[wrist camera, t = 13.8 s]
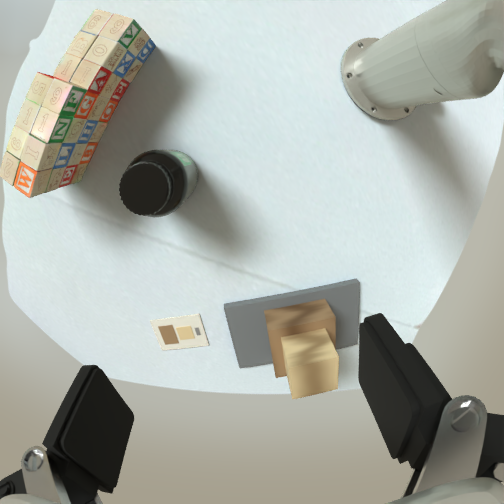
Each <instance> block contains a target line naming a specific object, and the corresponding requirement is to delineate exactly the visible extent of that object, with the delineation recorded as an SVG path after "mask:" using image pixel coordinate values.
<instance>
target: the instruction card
mask: <svg viewBox="0 0 504 504" xmlns="http://www.w3.org/2000/svg"><path fill="white" fill-rule="evenodd" d="M150 322H151V325H152V327H153V330H154V332H155V335H156V337H157V340H158V342H159V344H160V347H161V349H162V350H172V349H182V348H191V347H199V346H207V345H209V343H208V340H207V337H206V334H205V331H204V328H203V324H202V321H201V318H200V315H199V314H193V315H186V316H179V317H171V318H163V319H155V320H150Z"/></svg>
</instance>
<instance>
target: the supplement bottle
mask: <svg viewBox="0 0 504 504" xmlns="http://www.w3.org/2000/svg"><path fill="white" fill-rule="evenodd" d="M197 180H198V173H197V168H196V165H195V163H194V162H193V160H192V159H191V158H190V157H189V156H188V155H187V154H185V153H183V152H181V151H177V150H151V151H147V152H144V153H142V154H140V155H139V156H137V157H136V158H135V159H134V160H133V161H132V162H131V163H130V165H129V166H128V168H127V170H126V171H125V173H124V174H123V177H122V178H121V182H120V184H119V185H120V188H119V191H120V196H121V200H122V201H123V204H124V205H125V206H126V208H128V209H129V210H130V211H131V212H133V213H135V214H138V215H144V216H148V217H162V216H166V215H168V214H170V213H172V212H174V211H175V210H176V209H177V208H179V207H180V206H181V204H182V203H183V202H184V201H185V200H186V199H187V198H188V197H189V196H190V195H191V194H192V192H193V191H194V189H195V187H196V184H197Z"/></svg>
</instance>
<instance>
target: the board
mask: <svg viewBox="0 0 504 504" xmlns="http://www.w3.org/2000/svg"><path fill="white" fill-rule="evenodd" d="M321 299H325V300H326V301H327V303H328V305H329V307H330V308H331V310H332V312H333V313H334V315H335V318H336V349H340V348H344V347H348V346H352V345H356V344H357V339H358V319H359V281H358V280H357V279H352V280H348V281H343V282H339V283H334V284H329V285H324V286H319V287H314V288H309V289H304V290H299V291H294V292H289V293H284V294H278V295H273V296H267V297H262V298H256V299H250V300H244V301H238V302H232V303H226V304H224V310H225V314H226V318H227V322H228V326H229V330H230V334H231V338H232V341H233V345H234V349H235V353H236V356H237V360H238V364H239V367H240V368H245V367H252V366H258V365H264V364H270V363H273V360H272V354H271V348H270V342H269V336H268V331H267V325H266V319H265V313H264V310H270V309H275V308H280V307H286V306H291V305H296V304H301V303H306V302H311V301H316V300H321Z"/></svg>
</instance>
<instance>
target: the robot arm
mask: <svg viewBox="0 0 504 504" xmlns="http://www.w3.org/2000/svg"><path fill="white" fill-rule="evenodd" d="M503 72H504V0H446V1H444V2H442V3H441V4H439V5H437V6H435V7H434V8H432V9H430V10H428V11H426V12H425V13H423V14H421V15H419V16H417V17H416V18H414V19H412V20H410V21H409V22H407V23H405V24H404V25H402V26H400V27H399V28H397V29H395V30H394V31H392V32H390V33H389V34H387V35H386V36H384V37H383V38H381V39H378V38H364V39H360V40H358V41H356V42H354V43H353V44H352V45H350V46H349V48H348V49H347V50H346V51H345V53H344V55H343V58H342V62H341V75H342V80H343V83H344V86H345V88H346V90H347V92H348V94H349V95H350V97H351V98H352V99H353V101H354V102H355V103H356V104H357V105H358V106H359V107H360V108H361V109H362V110H363V111H365V112H366V113H367V114H369V115H371V116H373V117H375V118H378V119H381V120H389V121H390V120H398V119H402V118H404V117H406V116H408V115H409V114H411V113H412V112H413V110H414V109H415V108H416V106H417V105H423V104H430V103H438V102H446V101H455V100H466V99H476V98H481V97H484V96H486V95H488V94H489V93H491V92H492V91H493V90H494V89H495V88H496V86H497V85H498V83H499V81H500V79H501V77H502V75H503ZM347 76H348V77H349V78H348V77H347ZM371 108H372V110H373V111H372V110H371ZM359 383H360V386H361V388H362V390H363V393H364V395H365V397H366V399H367V401H368V404H369V406H370V408H371V410H372V413H373V415H374V417H375V420H376V422H377V424H378V427H379V429H380V431H381V433H382V436H383V438H384V440H385V443H386V445H387V448H388V450H389V453H390V455H391V457H392V458H393V459H395V458H398V461H399V463H400V464H401V463H403V462H405V461H409V464H410V466H411V468H413V472H412V474H411V476H410V479H409V481H408V483H407V486H406V488H405V490H404V492H403V495H402V496H401V499H398V500H395V501H393V502H390V503H386V504H504V486H503V485H502V484H501V482H504V415H498V414H491V413H487V410H486V408H485V405H484V404H483V403H482V402H481V401H480V400H479V399H477V398H476V397H473V396H469V395H465V396H459V397H456V398H454V399H452V398H451V397H450V395H449V394H448V392H447V391H446V390H445V388H444V387H443V385H442V384H441V382H440V381H439V379H438V378H437V377H436V375H435V374H434V373H433V371H432V370H431V368H430V367H429V366H428V364H427V363H426V361H425V360H424V359H423V357H422V356H421V355H420V353H419V352H418V351H417V349H416V348H415V347H414V346H413V345H412V344H411V343H407V344H405V343H404V342H403V341H402V339H401V338H400V337H399V335H398V334H397V333H396V331H395V330H394V329H393V327H392V326H391V325H390V323H389V322H388V321H387V319H386V318H385V317H384V315H383V314H382V313H378V314H375V315H372V316H369V317H366V318H365V319H364V323H361V324H360V327H359ZM133 422H134V415H133V412H132V411H131V409H130V408H129V407H128V405H127V404H126V403H125V401H124V400H123V399H122V397H121V396H120V395H119V393H118V392H117V391H116V389H115V388H114V386H113V385H112V383H111V382H110V381H109V379H108V378H107V376H106V375H105V373H104V372H103V370H102V369H100V368H99V367H98V366H96V365H84V366H82V367H81V369H80V371H79V373H78V374H77V376H76V378H75V379H74V381H73V383H72V385H71V387H70V389H69V391H68V392H67V394H66V396H65V398H64V400H63V402H62V404H61V406H60V408H59V410H58V412H57V414H56V416H55V418H54V420H53V422H52V424H51V426H50V428H49V430H48V432H47V434H46V437H45V439H44V441H43V443H42V444H43V445H44V446H45V447H46V448H47V451H45V450H44V449H43V448H42V447H40V446H34V447H31V448H29V449H28V450H27V451H26V452H25V453H24V455H23V457H22V461H21V467H22V469H20V470H19V471H17V472H15V473H13V474H11V475H9V476H7V477H6V478H4V479H2V480H1V481H0V504H103V503H102V501H101V500H100V497H99V495H98V493H97V490H98V489H99V490H100V491H102V492H107V493H112V492H113V489H114V487H116V485H117V482H118V478H119V474H120V470H121V466H122V462H123V458H124V454H125V450H126V447H127V443H128V439H129V436H130V432H131V429H132V425H133Z"/></svg>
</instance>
